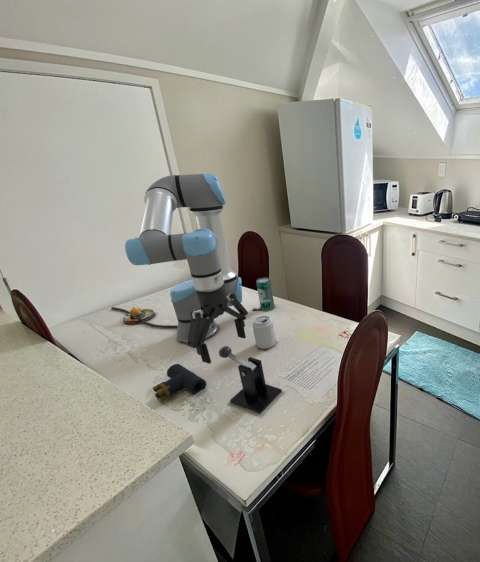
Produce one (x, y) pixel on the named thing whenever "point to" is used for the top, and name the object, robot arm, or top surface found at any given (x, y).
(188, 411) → the top surface
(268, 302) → the can
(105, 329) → the top surface
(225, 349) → the tap lever
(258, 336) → the can
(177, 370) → the pipe connector
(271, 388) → the bracket
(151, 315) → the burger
